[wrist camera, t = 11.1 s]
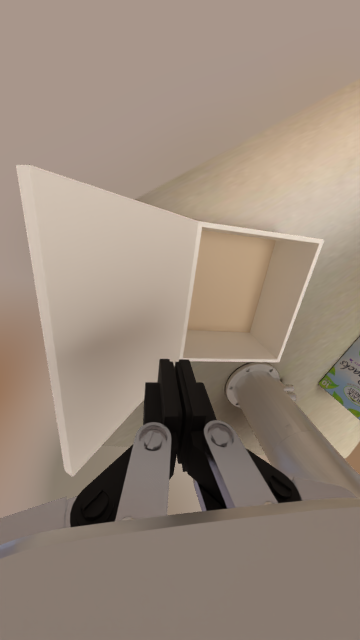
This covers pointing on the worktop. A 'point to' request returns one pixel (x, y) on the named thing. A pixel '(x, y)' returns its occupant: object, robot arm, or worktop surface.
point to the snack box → (346, 380)
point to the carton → (245, 292)
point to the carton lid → (103, 300)
